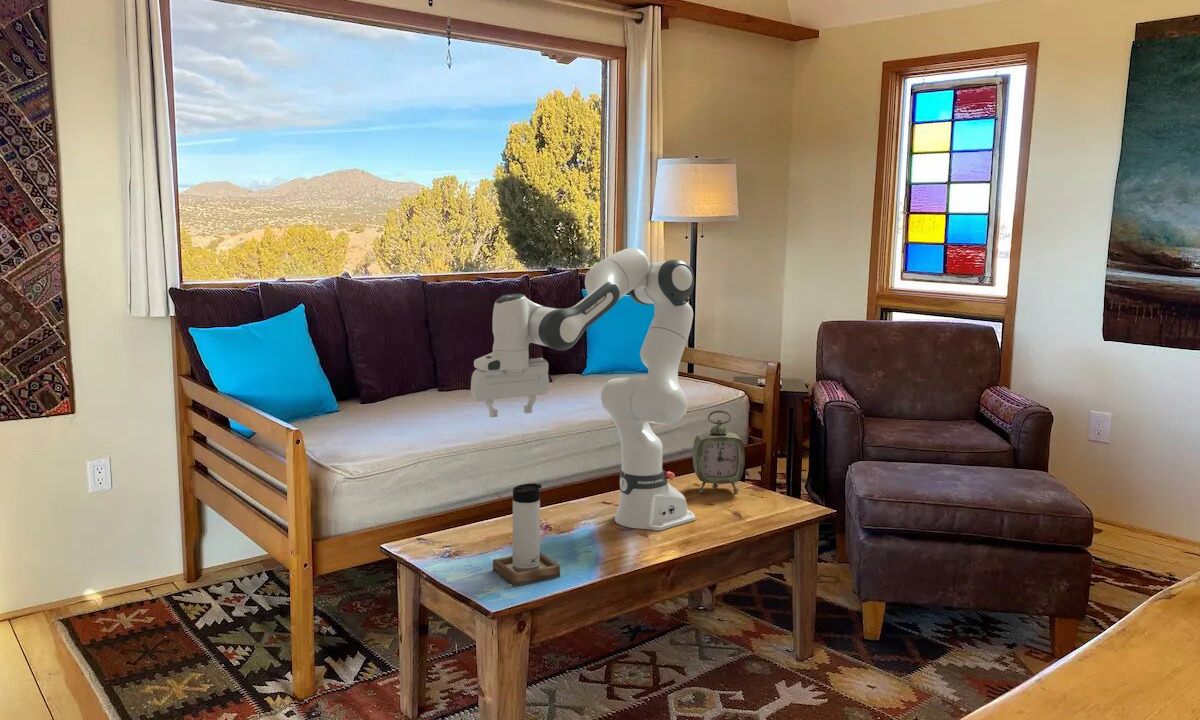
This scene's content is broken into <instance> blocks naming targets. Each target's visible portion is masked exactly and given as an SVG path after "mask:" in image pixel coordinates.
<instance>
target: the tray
mask: <svg viewBox="0 0 1200 720" xmlns="http://www.w3.org/2000/svg"><path fill="white" fill-rule="evenodd" d="M539 562H540V567H539V569H534V570H529V571H524V572H517V571H515V570H514V569H513V555H510V556H505V557H501V558H495V559H492V571H493V572H494V573H495V574H497V575H498V576H499V577H501V579H503V580H504V581H505V582H506V583H508V584H509V585H510V584H511V585H512V586H511V585H510V586H511V587H515V586H514V585H518V586H521V585H520V584H523V585H526V584H527V583H528V584H531V583H535V582H536V583H537V582H542V581H545V580H551V578H552V579H556V578H561V565H560V564H558V563H557V562H556V561H554V560H552V559H551V558H549V557H548V556H547V555H545V554H544V553H542V552H541V551H540V561H539Z"/></svg>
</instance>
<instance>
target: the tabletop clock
mask: <svg viewBox="0 0 1200 720" xmlns="http://www.w3.org/2000/svg"><path fill="white" fill-rule="evenodd" d="M717 413H718V414H719V413H723V414H726V415H727V416H728V417H729V418H728V419H727V420H725V421H722V420H721V419H717V421H713V420H712V419H710V417H711V416H712V415H714V414H717ZM731 419H732V416H731V414H730V413H729V412H728V411H726V410H713V411H711V412H710V413H709V414H708V416H707V420H708V422H710V423H711V424H714V425H713V426H712V427H711V429H710V431H705V432H701V433H697V434H696V436H695V439H694V442H693V447H692V448H693V449H692V465H693V470H694V473H695V475H696V477H697V479H699V481H700V482H701V483H702V485H701V487H700V488H699V487H698V493H700V494H703V493H704V491H705V490H704V487H705V485H706V484H712V488H713V489H714V490H715V489H716V490H717V489H718V488H719V485H722V484H731V485H732V487H733V492H734V493H735V494H736V493H739V491H740V489H739V487H736V484H735V483H737V482H740V481H741V479H742V477H743V474H744V471H745V462H746V457H745V446H744V442H743V440H742V439H741V438H740V437H739V436H738V434H735V433H734V432H731V431H730V432H729V431H728V429H727V428H726V427H725V426H724V425H725V424H727V423H729V422H730V421H731Z"/></svg>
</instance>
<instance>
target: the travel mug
mask: <svg viewBox="0 0 1200 720" xmlns="http://www.w3.org/2000/svg"><path fill="white" fill-rule="evenodd" d="M542 488H543V487H542V484H541V483H525V484H524V483H522V484H519V485H516V486H515V487H513V489H512V556H513V569H514V570H515V571H517V572H524V571H529V570H534V569H539V567H540V562H539V561H540V552H541V550H540V548H541V547H540V546H541V544H540V543H541V540H540V539H541V536H540V535H541V532H540V531H541V499H540V498H541V497H540V494H541V492H540V490H542Z"/></svg>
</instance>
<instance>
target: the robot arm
mask: <svg viewBox="0 0 1200 720" xmlns="http://www.w3.org/2000/svg"><path fill="white" fill-rule="evenodd" d="M694 285H695V275H694V271H693V269H692V267H691V266H690V264H688V262H686V261H683V260H679V259H669V260H664V261H658V262H654V263H651V262H650V261H649V258H648V256H647V255H646V253H645V252H643V250H641V249H639V248H637V247H627V248H625V249H622V250H620V251H617V252H614V253H613V254H611V255H609V256H607V257H605V258H603V259H602V260H600V261H599V262H597V263H595V265H593V266H591V268H590V269H589V270H588V271H587V272H586V273H585V277H584V287H585V290H586V293H587V295H586V296H585V297H584V298H583V299H581V300H580V301H579V302H577V303H576V304H575V305H573V306H571V307H568V308H556V307H555V308H554V307H548V306H544V305H541V304H538V303H535V302H533V301H532V300H530V299H529V298H528V297H526V295H525V294H522V293H510V294H504V295H502V296H500V297H498V298H497V299H496V300H495V302H494V304H493V311H492V334H493V345H492V352H490V353H488V354H486V355H483V356H481V357H477V358H476V359H474V360H473V367H474V368H475V369H474V370H473V372H472V374H471V380H470V396H471V397H472V399H474V400H475V401H478V402H482V401H484V404H485V405H486V408H487V409H488V411H489V412H488V413H489V417H490V418H497V417H498V416H499V414H498V413H499V411H498V409H496V408H494V406H493V404H494V400H503V399H504V400H505V399H513V398H522V397H527V399H528V400H527V401H528V402H527V404H526V405H523V409H524V410H523V412H524V413H525V414H532V413H533V406H534V405H535V403H536V402H537V396H543V395H547V394H548V393H549V391H550V380H549V379H550V378H549V362H548V361H547V360H546V359H544V358H543V357H537V358H529V357H530V356H529V355H530V354H529V353H530V352H529V351H530V350H529V346H530V344H535V345H539V346H543V347H548V348H550V349H552V350H556V351H561V352H562V351H567V350H569V349H571V348H573V347H574V345H576V344H577V342H578V341H579V340H580V338H581V337H582V335H583V334H584V332H585V331H586V330H587V329H589V327H590V326H592V325H593V324H595V323H596V321H598V320H599V319H600V318H601V317H603V316H604V315H605V314H606V313H607V312H609V311H610V310H611V309H612V308H613V307H615V305H616V304H617V303H618V301H619V300H620V299H621V298H623V297H624V296H626V295H627V294H628V295H629V297H630V298H631V299H632V300H633V301H634V302H636V303H637V304H641V305H645V306H646V305H647V306H649V305H652V304H653V306H654V307H653V308H654V314H653V318H652V320H651V323H650V325H649V327H648V330H647V332H646V335H645V337H644V341H643V343H642V345H641V348H640V351H639V357H640V360H641V362H642V364H643V365H644V366H645V367H646V368H647V369H648V371H647V375H646V376H647V377H646V379H640V378H639V379H638V378H632V377H616V378H611V379H609V380H608V381H607V382H606V383H605V384H604V386H603V388H602V390H601V394H600V398H601V399H600V400H601V404H602V407H603V409H604V410H605V411H606V412H607V413H608V414H609V415H610V418H612V421H613V422H614V424H615V426H616V429H617V432H618V435H619V440H620V445H621V447H620V448H621V449H620V450H621V469H620V470H619V491H620V492H619V499H618V506H617V509H616V512H615V513H616V514H615V516H614V522H616V524H618V525H621V526H622V527H627V528H630V529H631V528H632V529H640V530H641V529H643V530H651V531H658V532H659V531H663V530H667V529H669V528H673V527H675V526H680V525H683V524H686V523H690V522H693V521H695V520H696V515H695V513H694V512H693V511H692V510H689V509H688V503H687V499H686V497H685V496H684V494H683V493H681V491H679V490H678V489H676V488H675V487H674V486H673V485H671V484H670V483H669V482H668V480H670V481H673V480H674V479H675V478H676V475H675V473H674V472H671V471H666V470H664V469H663V453H664V451H663V449H664V447H663V443H662V440H661V439H660V437H658V435H656V434H655V433H654V431H653V430H652V428H651V426H650V423H651V424H656V425H675V424H678V423H680V421H682V419H684V417H685V415H686V413H687V409H688V398H687V395H686V394H685V393H686V392H685V391H684V390H683V389H682V387H681V385H680V382H679V368H680V363H681V360H682V357H683V353H684V352H685V351H684V350H685V348H686V345H687V342H688V339H689V336H690V334H691V333H690V332H691V329H692V324H693V319H694V311H693V308H692V305H690V303H688V302H689V301H690V300H691V299H692V296H693V290H694Z"/></svg>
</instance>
